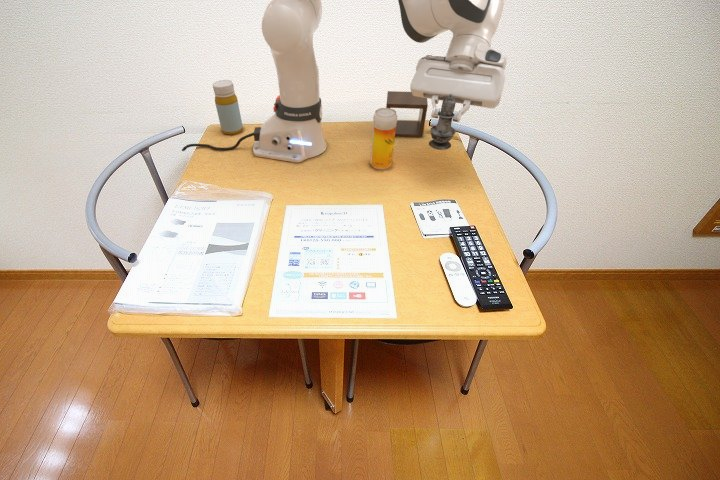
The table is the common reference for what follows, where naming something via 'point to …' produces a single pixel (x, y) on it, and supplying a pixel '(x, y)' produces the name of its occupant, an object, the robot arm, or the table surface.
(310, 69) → the robot arm
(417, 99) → the shelf
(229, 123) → the bottle
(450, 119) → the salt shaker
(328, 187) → the table surface
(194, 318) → the table surface
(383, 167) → the beer can
